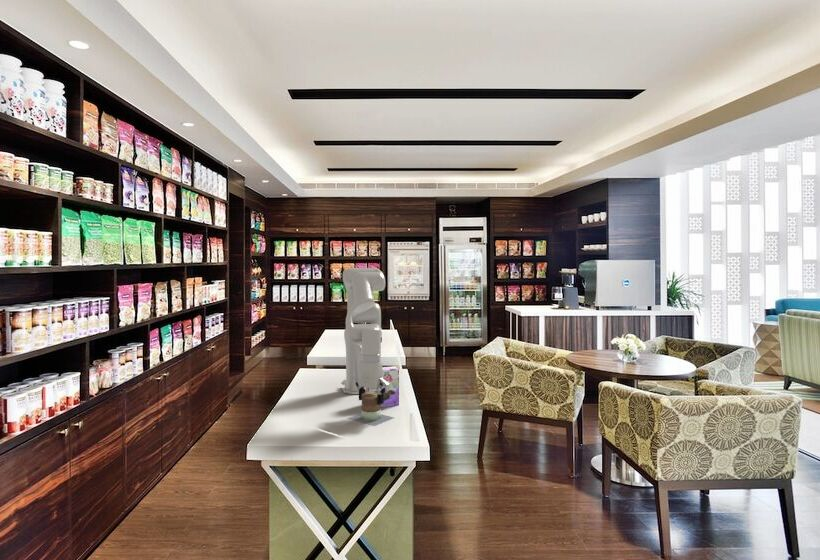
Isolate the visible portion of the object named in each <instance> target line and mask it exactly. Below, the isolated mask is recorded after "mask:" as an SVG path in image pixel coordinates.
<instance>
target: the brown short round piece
mask: <svg viewBox="0 0 820 560" xmlns="http://www.w3.org/2000/svg"><path fill="white" fill-rule="evenodd" d="M377 395H378V393H377V392H366V393H363V394H362V400H361V409H362V411H365V412H377V411H379V410H381V411H382V409H381V404H380V405H378V404H377Z"/></svg>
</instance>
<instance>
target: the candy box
mask: <svg viewBox="0 0 820 560" xmlns="http://www.w3.org/2000/svg"><path fill="white" fill-rule="evenodd" d="M382 367H383V366H382ZM383 377H384V380H385V381H386V382H387V383H389V386H388V388H387V391H386V392H385V393H384V403H383V404H381V407H382V408H384V407H393V406H399V405H400V369H399V367H397V366H384V367H383ZM383 388H384V385H383ZM379 389H380V388H379ZM380 391H381V389H380ZM366 392H377V390H376V389H369V388H366V391H365V393H366ZM377 393H378V392H377Z"/></svg>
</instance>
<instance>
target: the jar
mask: <svg viewBox="0 0 820 560" xmlns="http://www.w3.org/2000/svg"><path fill="white" fill-rule="evenodd" d="M360 411H361V413H360V414H361V419H362V420H364V421H377V420H380V419H381V414H382V409H381V410H379V411H377V412H365V411H362V408H361V410H360Z"/></svg>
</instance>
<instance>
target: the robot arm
mask: <svg viewBox="0 0 820 560" xmlns="http://www.w3.org/2000/svg"><path fill="white" fill-rule="evenodd" d="M342 282H343V285H344V288H345V291H346V295H347V298H346V299H347V300H346V301H347V308H346V309H347V311H346V317H345V328H344V331H343V336H344V344H345V368H346V369H345V379H343V380H342V381H341V383H340V384H341V385H343V386H344V387H343V388H342V392H343V393H345V394H348V395H358V400H359V401H362V394H363V393H365V391H366V388H369V389H376V390H377V392H378V395H377V404H378V405H380V404H383V403H384V393H385V392H386V391H387V388H388V386H389V383H387V382H386V381H385V380H384V377H383V363H382V355H381V353H382V341H381V340H382V334H383V332H382V330H383V329H382V310H381V306H380V304H378V303H377V302H375V296H374V292H381V291H382V292H383V291H385V288H386V277H385V275H384V272H383V271H381V270H380V269H379V268H377V267H350V268H346V269H344V270H343V271H342ZM383 385H384V388H383ZM379 388H380V389H381V391H380V389H379Z"/></svg>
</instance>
